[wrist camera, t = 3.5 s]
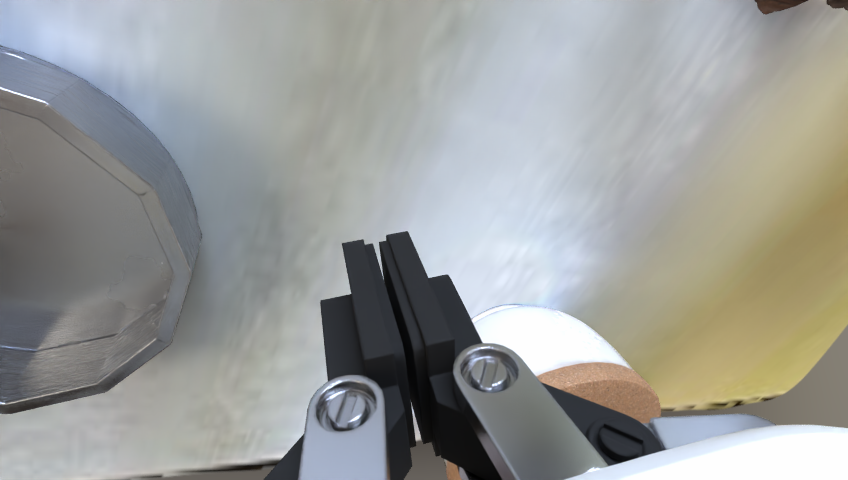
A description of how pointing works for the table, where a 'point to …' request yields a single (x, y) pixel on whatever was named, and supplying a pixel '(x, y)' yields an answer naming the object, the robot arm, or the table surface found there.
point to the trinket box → (567, 359)
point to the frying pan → (83, 238)
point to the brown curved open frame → (793, 4)
